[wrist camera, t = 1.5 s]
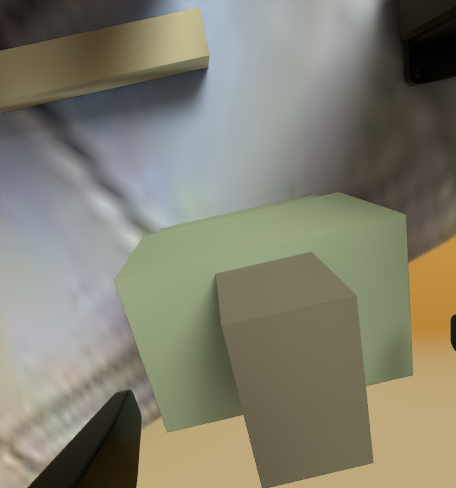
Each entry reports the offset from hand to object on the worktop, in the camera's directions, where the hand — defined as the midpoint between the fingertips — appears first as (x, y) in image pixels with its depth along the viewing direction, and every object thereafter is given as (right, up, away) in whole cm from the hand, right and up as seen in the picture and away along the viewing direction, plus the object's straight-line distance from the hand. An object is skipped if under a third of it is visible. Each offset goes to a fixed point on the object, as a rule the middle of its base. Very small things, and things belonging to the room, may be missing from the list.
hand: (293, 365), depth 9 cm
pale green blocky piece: (-1, +2, +8) cm, 9 cm away
